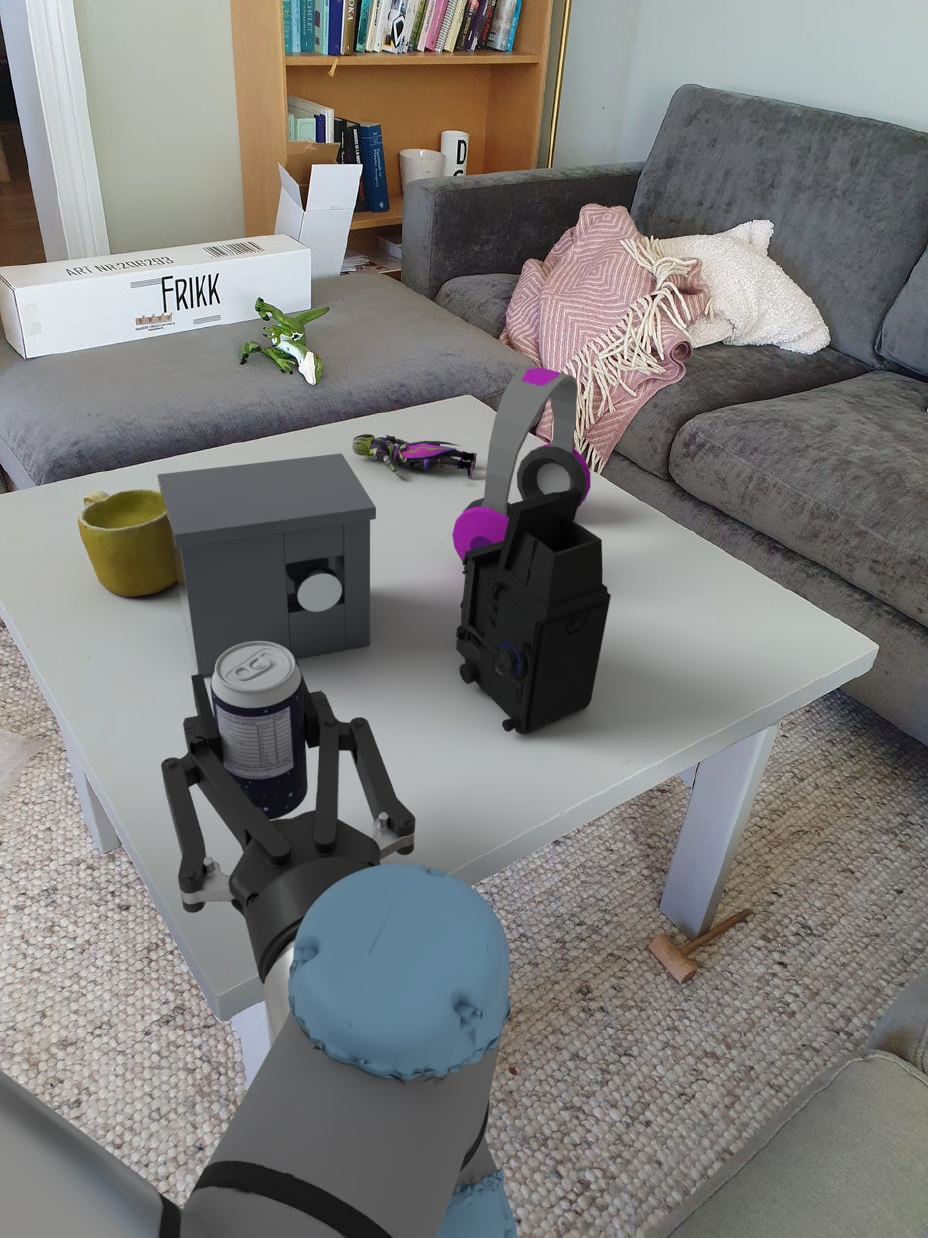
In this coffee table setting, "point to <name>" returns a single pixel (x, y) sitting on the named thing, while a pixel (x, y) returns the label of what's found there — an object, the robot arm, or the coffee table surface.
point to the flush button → (317, 588)
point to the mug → (129, 541)
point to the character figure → (412, 453)
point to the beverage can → (262, 724)
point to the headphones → (539, 469)
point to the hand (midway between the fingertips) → (245, 681)
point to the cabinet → (269, 554)
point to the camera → (535, 613)
